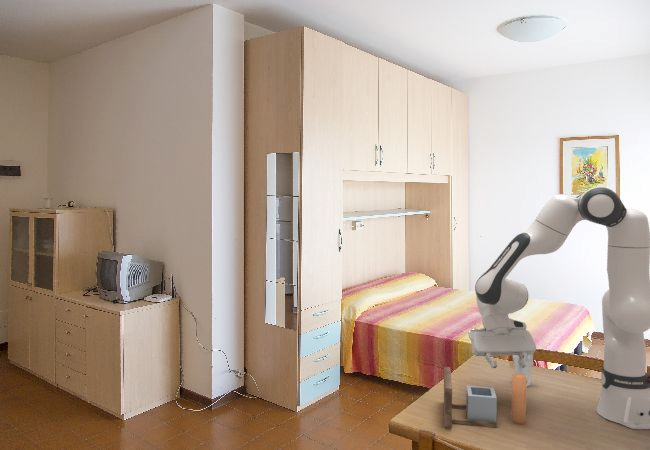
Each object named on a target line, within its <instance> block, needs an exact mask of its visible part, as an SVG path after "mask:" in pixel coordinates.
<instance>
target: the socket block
mask: <svg viewBox="0 0 650 450" xmlns="http://www.w3.org/2000/svg"><path fill="white" fill-rule="evenodd" d="M465 395H466V396H465V397H466V399H465V400H466V401H465V402H466V409H465V410H466V418H467V419H466V420H478V421H489V422H497V415H498V414H497V411H498V410H497V407H498V406H497V405H498V404H497V403H498V401H497V400H498V399H497V398H498V397H497V395H496V391H495V387H493V386H480V385H479V386H478V385H468V384H466V394H465Z"/></svg>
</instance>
